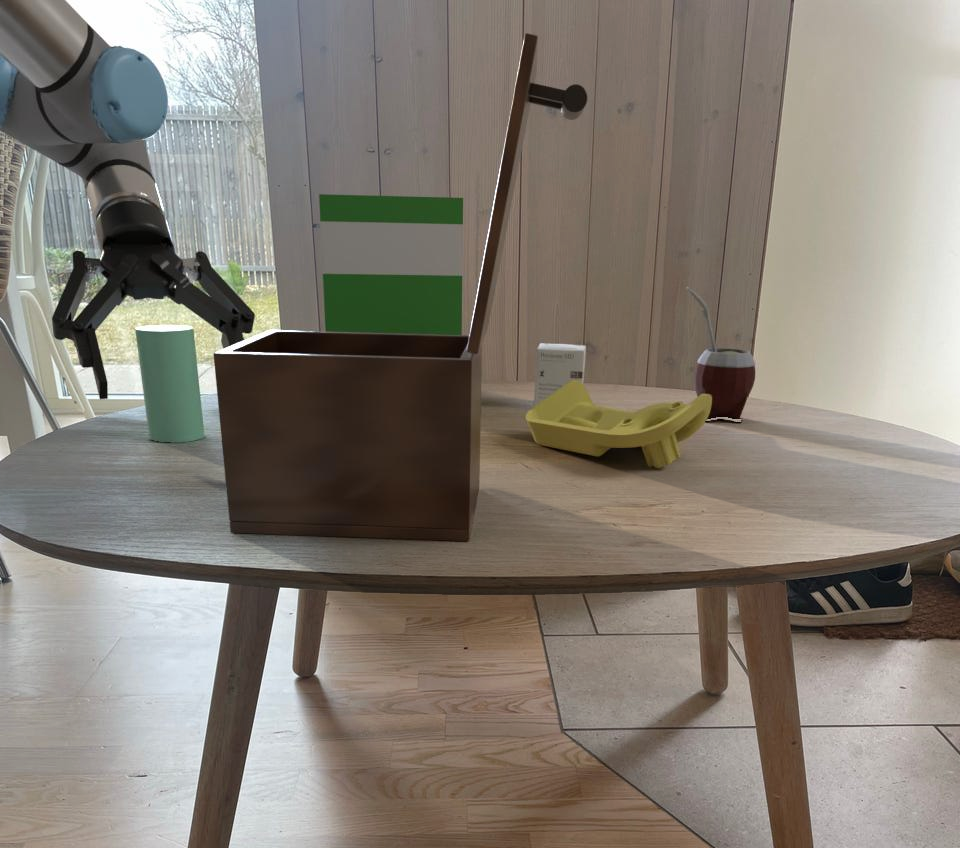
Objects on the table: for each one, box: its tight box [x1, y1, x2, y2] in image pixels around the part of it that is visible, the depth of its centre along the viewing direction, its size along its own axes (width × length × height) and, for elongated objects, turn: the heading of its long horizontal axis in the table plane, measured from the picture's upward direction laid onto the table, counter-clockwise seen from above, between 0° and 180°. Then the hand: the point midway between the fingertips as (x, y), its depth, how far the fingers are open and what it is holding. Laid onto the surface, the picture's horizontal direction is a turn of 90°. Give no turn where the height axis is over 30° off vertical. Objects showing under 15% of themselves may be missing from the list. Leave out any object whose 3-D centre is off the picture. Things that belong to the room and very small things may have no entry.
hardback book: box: [318, 193, 464, 335], centre depth 122 cm, size 18×7×24 cm, turn 97°
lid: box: [467, 32, 588, 354], centre depth 65 cm, size 19×15×5 cm
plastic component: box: [525, 380, 712, 469], centre depth 93 cm, size 20×7×10 cm
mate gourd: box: [685, 286, 756, 419], centre depth 110 cm, size 8×8×15 cm
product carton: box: [533, 342, 587, 407], centre depth 117 cm, size 6×6×7 cm
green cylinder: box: [134, 324, 205, 444], centre depth 95 cm, size 6×6×11 cm
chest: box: [213, 329, 483, 542], centre depth 72 cm, size 18×15×13 cm
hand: (174, 387), depth 94 cm, fingers open, 13 cm apart
